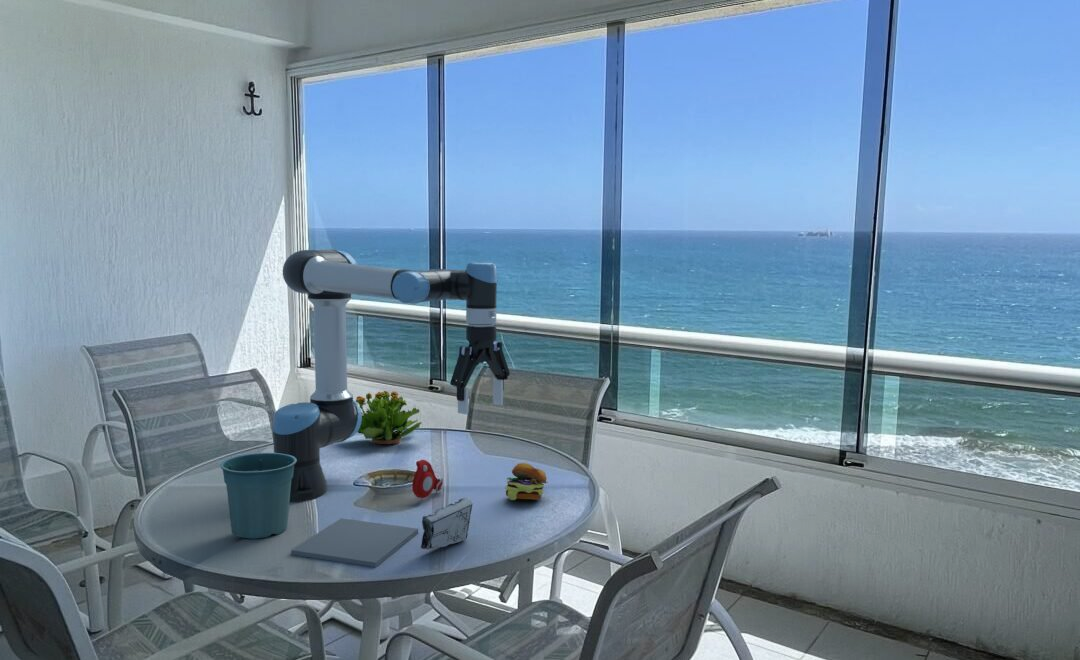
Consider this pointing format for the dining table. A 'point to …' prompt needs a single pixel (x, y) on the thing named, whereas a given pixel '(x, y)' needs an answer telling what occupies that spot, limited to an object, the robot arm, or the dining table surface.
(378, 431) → the potted flower
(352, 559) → the mat
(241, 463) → the flower pot
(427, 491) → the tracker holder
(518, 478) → the cheeseburger
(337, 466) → the dining table surface
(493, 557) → the dining table surface
